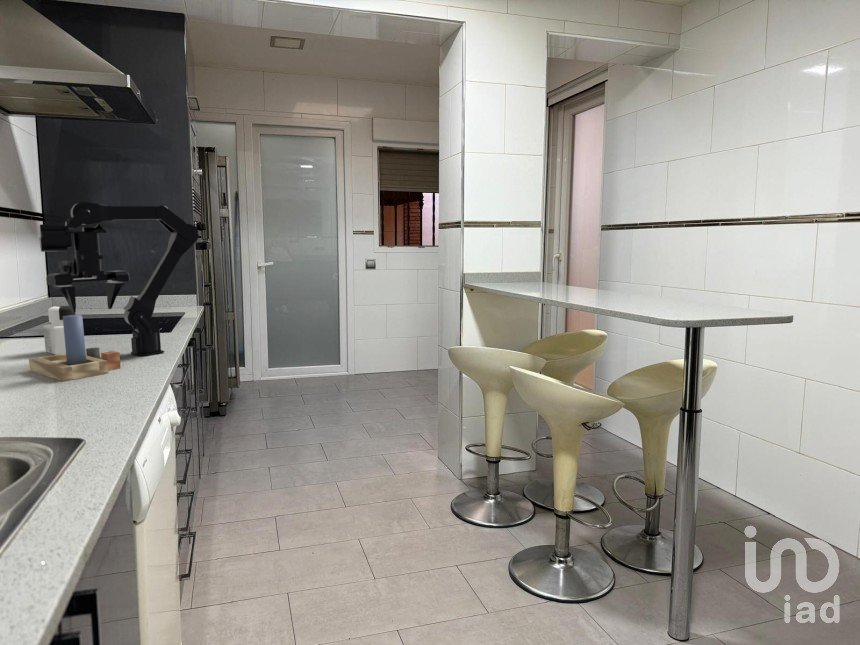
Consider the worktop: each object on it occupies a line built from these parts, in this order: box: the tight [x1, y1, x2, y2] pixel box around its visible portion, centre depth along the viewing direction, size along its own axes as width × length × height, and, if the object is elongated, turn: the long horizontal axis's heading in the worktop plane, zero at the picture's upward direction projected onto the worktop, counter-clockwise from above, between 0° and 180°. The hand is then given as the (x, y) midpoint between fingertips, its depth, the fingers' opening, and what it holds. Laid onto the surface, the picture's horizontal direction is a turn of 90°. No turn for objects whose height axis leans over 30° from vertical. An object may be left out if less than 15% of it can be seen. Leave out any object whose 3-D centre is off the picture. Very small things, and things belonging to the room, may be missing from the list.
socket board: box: [28, 347, 122, 382], centre depth 148 cm, size 14×18×4 cm
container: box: [42, 305, 77, 355], centre depth 172 cm, size 8×8×13 cm
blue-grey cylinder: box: [63, 314, 86, 366], centre depth 143 cm, size 4×4×14 cm
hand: (92, 310), depth 160 cm, fingers open, 9 cm apart
